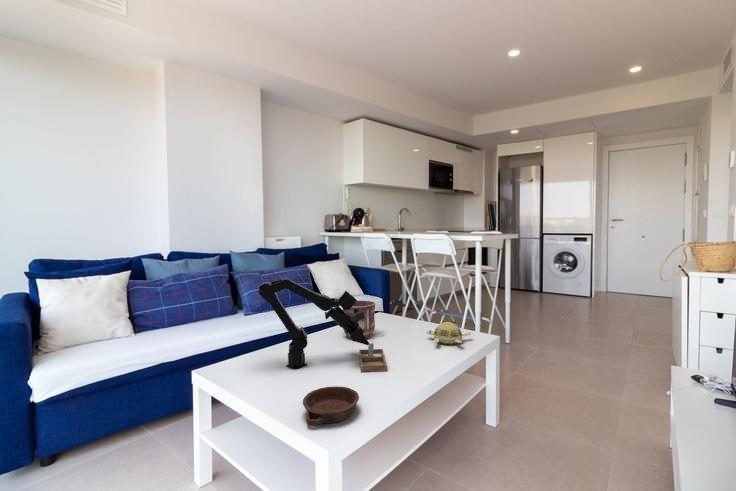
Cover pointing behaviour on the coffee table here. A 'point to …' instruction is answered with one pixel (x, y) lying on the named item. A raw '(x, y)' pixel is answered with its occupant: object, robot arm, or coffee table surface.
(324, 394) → the dish
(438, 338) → the decorative figurine
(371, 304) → the pottery
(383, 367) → the organiser
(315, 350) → the coffee table surface
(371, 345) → the lighter
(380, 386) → the coffee table surface
